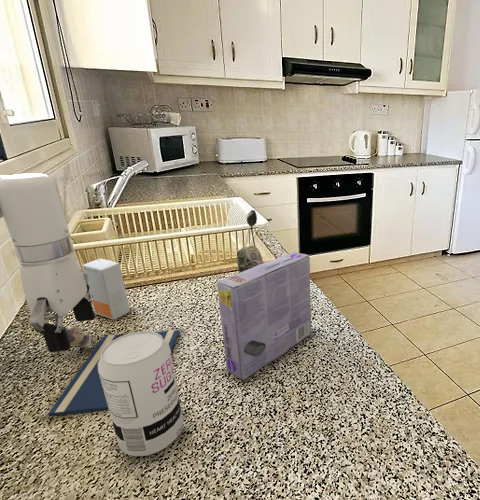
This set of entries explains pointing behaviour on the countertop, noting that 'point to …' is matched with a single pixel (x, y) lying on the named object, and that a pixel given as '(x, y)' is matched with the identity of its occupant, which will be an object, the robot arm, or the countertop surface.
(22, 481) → the countertop surface
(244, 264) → the plant with pod
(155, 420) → the supplement can
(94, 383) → the towel
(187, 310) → the countertop surface
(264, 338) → the cake pan box
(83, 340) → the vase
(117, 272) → the cosmetic box
